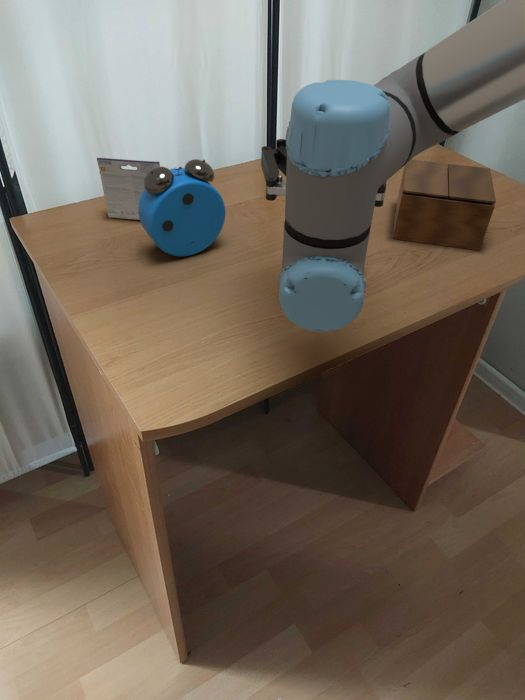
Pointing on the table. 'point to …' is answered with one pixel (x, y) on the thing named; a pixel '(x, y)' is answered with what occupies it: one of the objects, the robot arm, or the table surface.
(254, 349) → the table surface
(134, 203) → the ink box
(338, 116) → the robot arm
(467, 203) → the wooden box
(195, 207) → the alarm clock
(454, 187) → the flap
